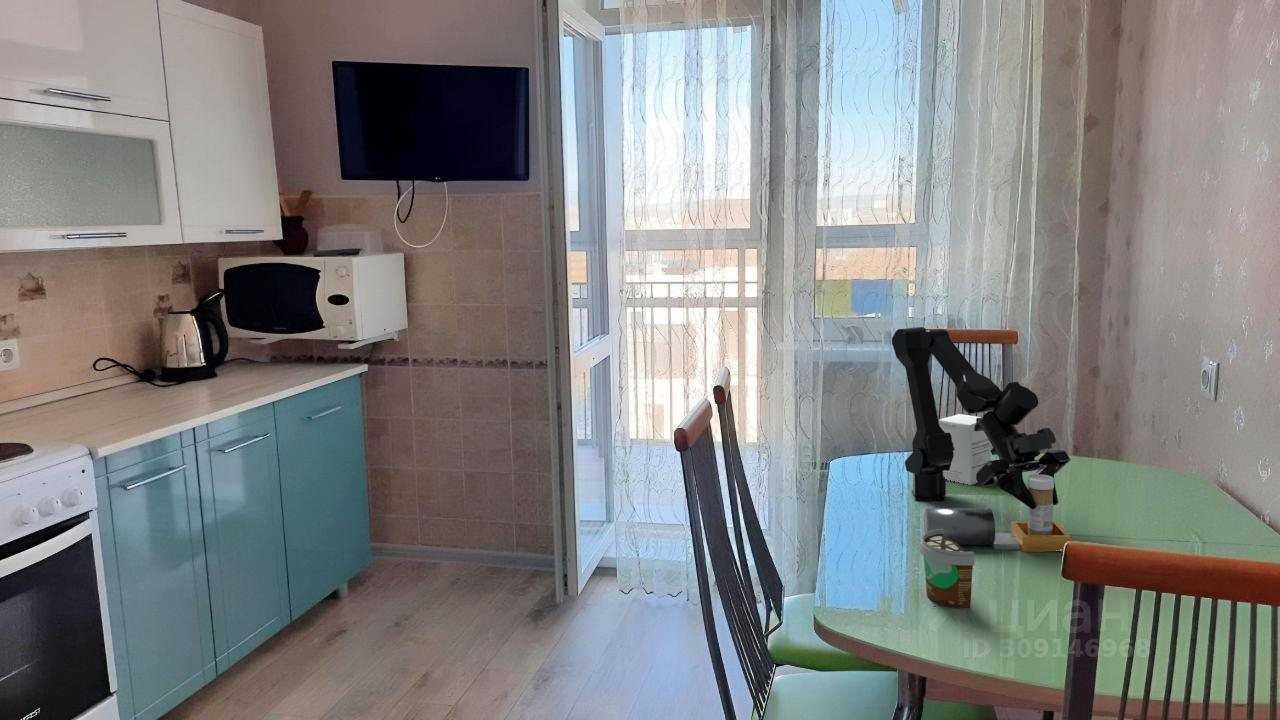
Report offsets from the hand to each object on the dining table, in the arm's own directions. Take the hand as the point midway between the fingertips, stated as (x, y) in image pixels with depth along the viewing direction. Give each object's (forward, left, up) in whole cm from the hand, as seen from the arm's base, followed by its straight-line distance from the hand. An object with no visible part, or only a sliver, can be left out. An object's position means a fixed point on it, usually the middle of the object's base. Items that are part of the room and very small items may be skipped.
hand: (1045, 506), depth 165 cm
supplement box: (-6, +46, -8) cm, 47 cm away
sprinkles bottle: (-1, +1, -8) cm, 8 cm away
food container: (-24, -25, -8) cm, 35 cm away
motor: (-9, +1, -8) cm, 12 cm away
